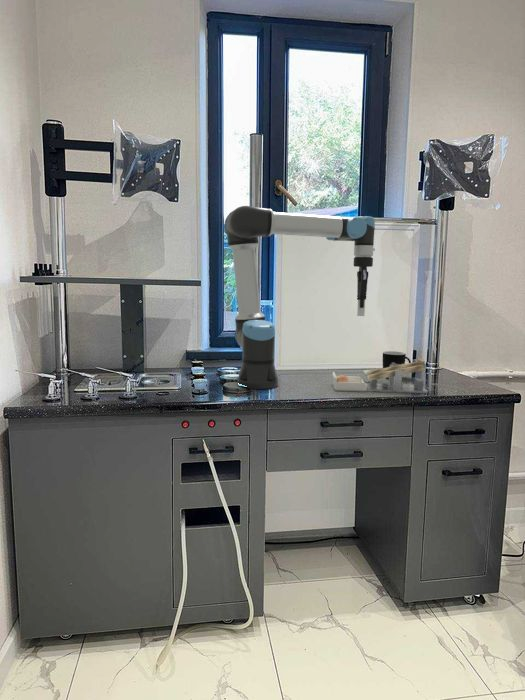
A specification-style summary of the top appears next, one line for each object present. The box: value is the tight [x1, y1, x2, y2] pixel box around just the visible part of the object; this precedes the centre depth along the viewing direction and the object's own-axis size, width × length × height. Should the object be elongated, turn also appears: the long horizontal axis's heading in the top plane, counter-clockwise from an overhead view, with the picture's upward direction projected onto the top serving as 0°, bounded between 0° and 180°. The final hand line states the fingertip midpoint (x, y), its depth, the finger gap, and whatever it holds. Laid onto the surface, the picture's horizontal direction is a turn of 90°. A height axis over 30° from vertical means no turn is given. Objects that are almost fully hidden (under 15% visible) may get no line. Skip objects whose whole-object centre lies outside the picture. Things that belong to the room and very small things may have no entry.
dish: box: [331, 371, 368, 392], centre depth 186 cm, size 11×11×4 cm
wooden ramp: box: [362, 357, 427, 381], centre depth 189 cm, size 20×16×4 cm
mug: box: [382, 350, 412, 379], centre depth 206 cm, size 12×9×10 cm
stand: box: [365, 365, 429, 394], centre depth 185 cm, size 21×11×8 cm, turn 87°
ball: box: [337, 374, 348, 382], centre depth 186 cm, size 4×4×4 cm
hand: (360, 315), depth 206 cm, fingers closed
